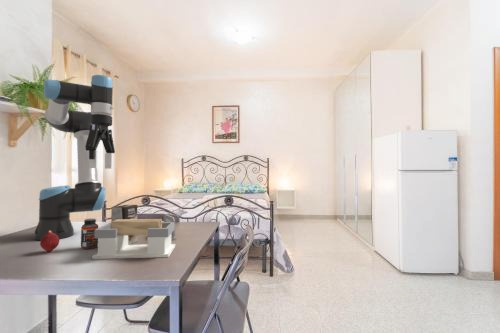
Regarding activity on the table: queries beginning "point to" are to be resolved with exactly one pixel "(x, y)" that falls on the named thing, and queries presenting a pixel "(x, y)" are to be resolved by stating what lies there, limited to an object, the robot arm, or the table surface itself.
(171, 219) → the handheld gaming console
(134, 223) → the rail
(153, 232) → the bracket stand
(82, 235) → the supplement bottle
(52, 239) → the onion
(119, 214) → the coffee box
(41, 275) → the table surface
